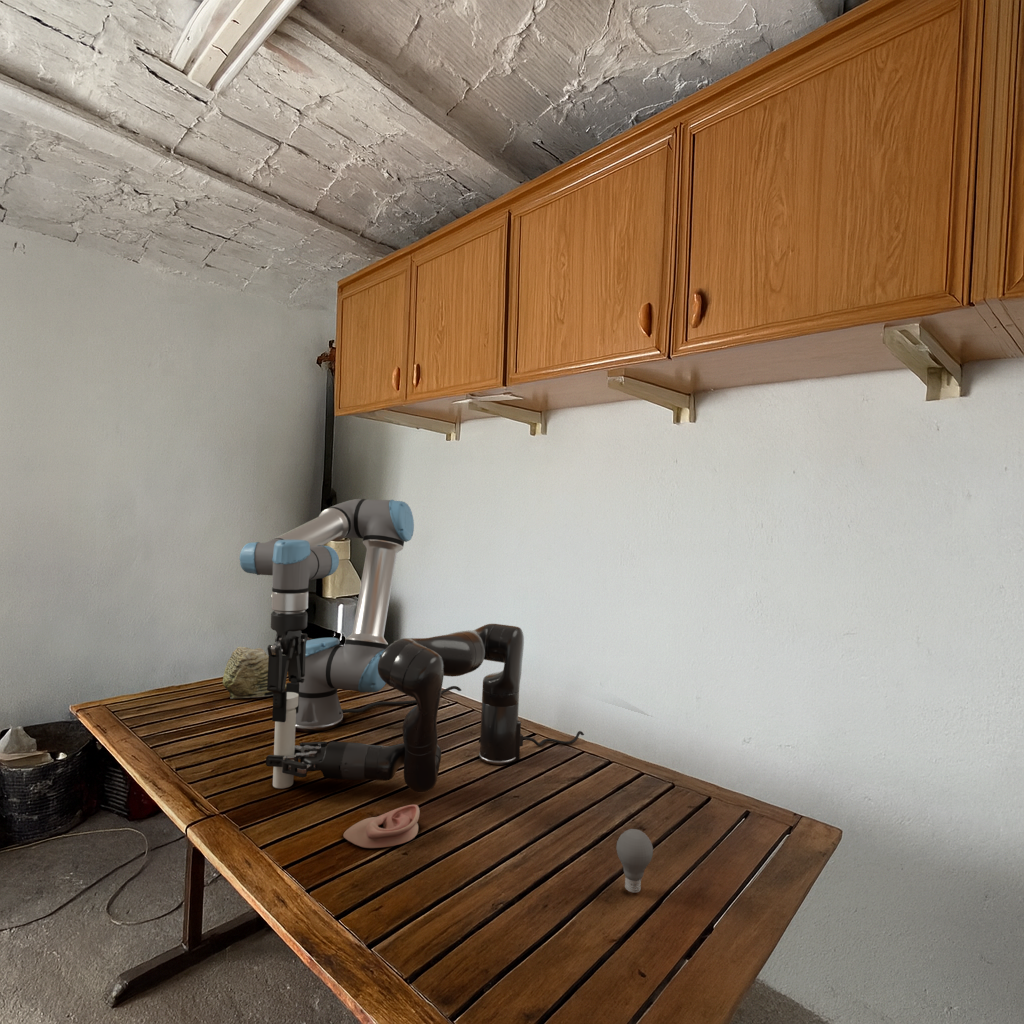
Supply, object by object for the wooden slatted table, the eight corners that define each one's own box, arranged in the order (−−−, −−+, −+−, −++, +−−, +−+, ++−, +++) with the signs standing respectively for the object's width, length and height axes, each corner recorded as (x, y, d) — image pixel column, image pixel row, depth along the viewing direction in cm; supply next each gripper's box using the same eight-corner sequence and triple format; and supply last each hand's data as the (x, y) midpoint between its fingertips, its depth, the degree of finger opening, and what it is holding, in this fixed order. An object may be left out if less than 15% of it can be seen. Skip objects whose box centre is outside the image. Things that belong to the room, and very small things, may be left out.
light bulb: (610, 879, 108) (613, 822, 108) (644, 879, 109) (647, 822, 109) (619, 902, 102) (622, 840, 102) (655, 901, 103) (658, 840, 103)
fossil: (218, 695, 195) (220, 647, 195) (278, 685, 208) (279, 640, 207) (228, 703, 189) (230, 653, 188) (289, 692, 201) (290, 645, 201)
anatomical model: (336, 822, 116) (363, 794, 127) (335, 843, 116) (362, 813, 127) (404, 832, 113) (426, 803, 124) (403, 854, 113) (425, 823, 124)
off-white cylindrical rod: (287, 789, 136) (290, 704, 136) (269, 787, 137) (272, 702, 137) (296, 780, 141) (299, 698, 140) (278, 779, 141) (281, 696, 141)
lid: (302, 705, 139) (303, 695, 139) (282, 711, 135) (283, 700, 135) (288, 700, 142) (289, 690, 142) (268, 706, 138) (269, 695, 138)
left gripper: (293, 603, 148) (289, 702, 148) (250, 616, 130) (246, 729, 130) (323, 605, 147) (319, 705, 147) (285, 619, 129) (281, 733, 129)
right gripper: (358, 731, 145) (285, 727, 146) (338, 756, 131) (257, 751, 132) (357, 764, 145) (284, 759, 146) (337, 792, 131) (256, 787, 132)
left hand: (285, 716), depth 139 cm, fingers closed on lid, 5 cm apart
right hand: (271, 755), depth 139 cm, fingers closed on off-white cylindrical rod, 4 cm apart
